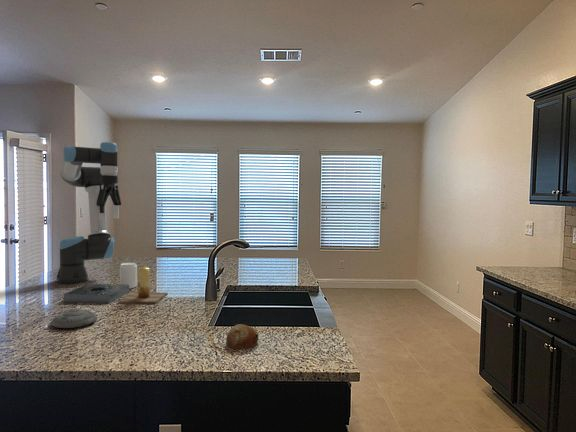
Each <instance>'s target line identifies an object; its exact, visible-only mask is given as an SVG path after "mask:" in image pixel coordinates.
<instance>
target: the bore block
mask: <svg viewBox="0 0 576 432" xmlns="http://www.w3.org/2000/svg"><path fill="white" fill-rule="evenodd" d="M129 292H130V289H129V285H120V283H119V284H118V283H117V284H108V283H107V284H106V283H87V284H84V285H82V286H79V287H77V288H75V289H72V290H70V291H68V292H65V293H64V294H62V295H63V297H62V299H63V303H75V304H76V303H77V304H79V303H80V304H81V303H82V304H83V303H84V304H110V303H112V302H114V301H116V300H118V299H119V298H121V297H122V296H124V295H126V294H127V293H129Z"/></svg>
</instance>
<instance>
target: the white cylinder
mask: <svg viewBox="0 0 576 432" xmlns="http://www.w3.org/2000/svg"><path fill="white" fill-rule="evenodd" d="M119 285H129V290H130V289H134V288H136V287H138V265H137V263H136V262H122V263H121V264H120V265H119Z"/></svg>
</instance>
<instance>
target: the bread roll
mask: <svg viewBox="0 0 576 432" xmlns="http://www.w3.org/2000/svg"><path fill="white" fill-rule="evenodd" d="M259 339H260V338H259V334H258V333H257V330H255V329H254V328H253V327H252V326H249V325H246V324H241V323H239V324H235V325H234V326H232V327H231V328H230V329H229V330H228V332H227V336H226V342H225V343H226V345H227V347H229V349H234V350H245V349H251V348H254V347H256V346H257V344H258V342H259Z"/></svg>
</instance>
